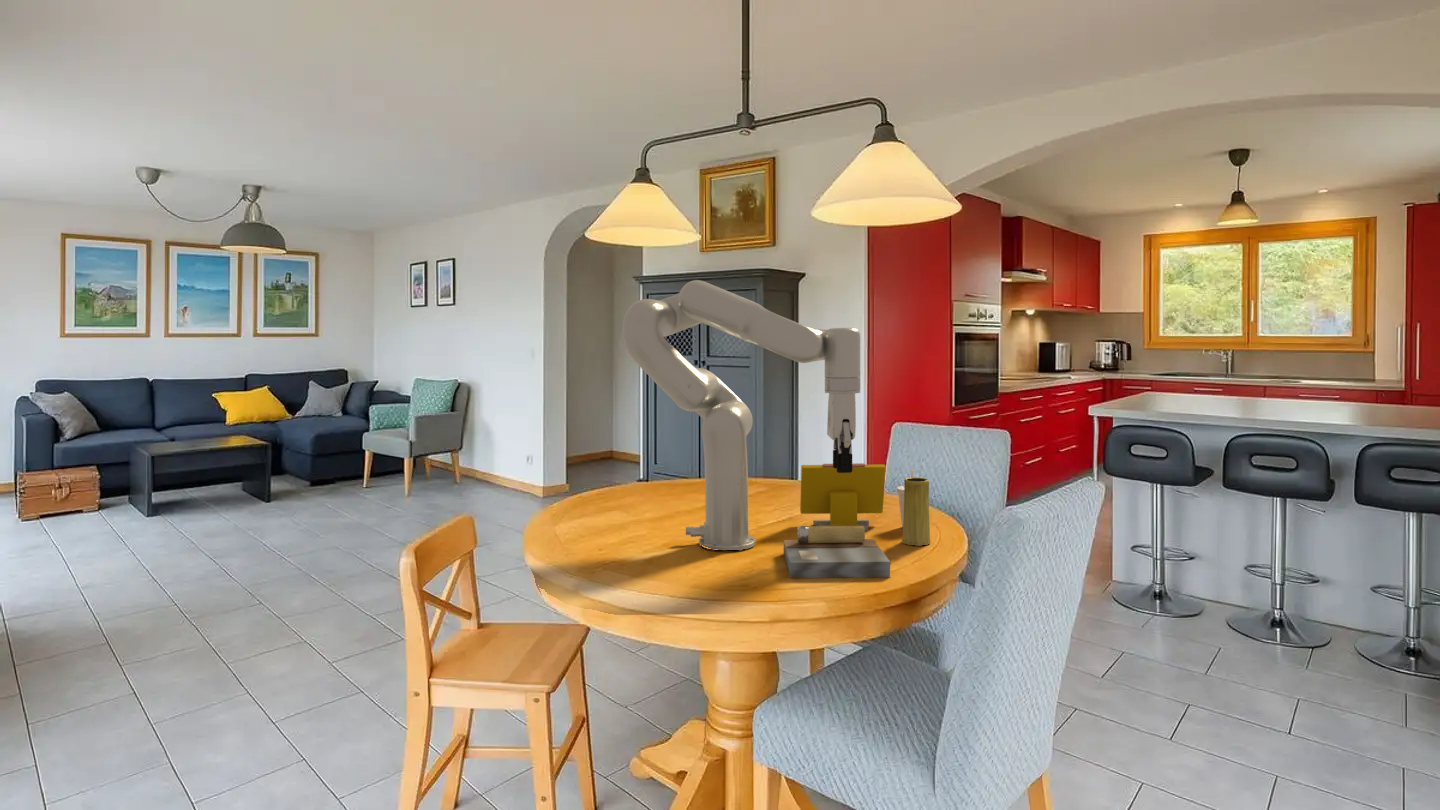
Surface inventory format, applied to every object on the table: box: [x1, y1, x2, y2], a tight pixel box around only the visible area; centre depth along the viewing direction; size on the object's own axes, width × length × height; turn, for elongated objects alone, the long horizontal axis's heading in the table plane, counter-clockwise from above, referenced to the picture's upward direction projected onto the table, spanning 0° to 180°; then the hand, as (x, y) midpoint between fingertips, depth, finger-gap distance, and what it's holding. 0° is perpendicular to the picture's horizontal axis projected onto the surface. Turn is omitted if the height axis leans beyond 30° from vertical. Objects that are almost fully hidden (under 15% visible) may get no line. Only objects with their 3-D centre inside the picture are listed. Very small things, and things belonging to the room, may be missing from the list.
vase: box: [901, 477, 931, 547], centre depth 171 cm, size 6×6×14 cm
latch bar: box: [796, 525, 866, 543], centre depth 160 cm, size 14×3×3 cm, turn 89°
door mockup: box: [783, 538, 891, 579], centre depth 155 cm, size 19×17×3 cm
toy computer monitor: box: [799, 462, 887, 532], centre depth 186 cm, size 20×8×16 cm, turn 88°
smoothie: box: [896, 469, 914, 528], centre depth 185 cm, size 6×6×14 cm
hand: (842, 469), depth 166 cm, fingers open, 5 cm apart
